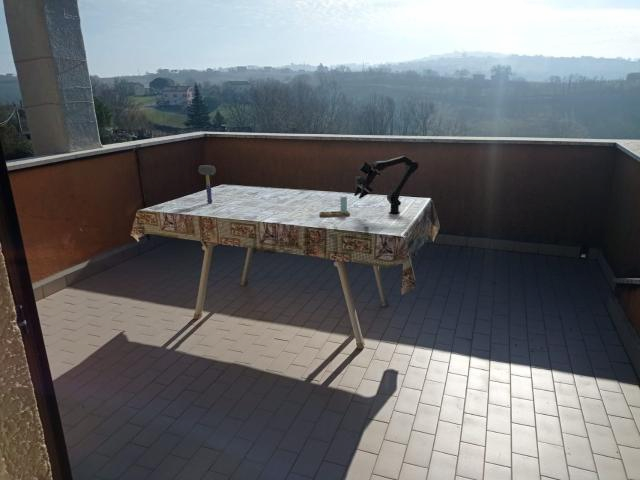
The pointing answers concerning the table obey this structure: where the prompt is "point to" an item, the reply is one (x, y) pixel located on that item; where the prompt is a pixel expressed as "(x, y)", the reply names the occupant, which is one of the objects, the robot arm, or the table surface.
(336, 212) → the walnut rack
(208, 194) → the rubber mallet
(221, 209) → the table surface
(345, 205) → the teal board
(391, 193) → the robot arm
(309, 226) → the table surface
